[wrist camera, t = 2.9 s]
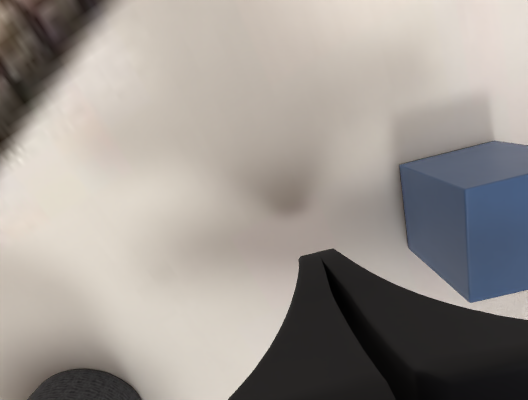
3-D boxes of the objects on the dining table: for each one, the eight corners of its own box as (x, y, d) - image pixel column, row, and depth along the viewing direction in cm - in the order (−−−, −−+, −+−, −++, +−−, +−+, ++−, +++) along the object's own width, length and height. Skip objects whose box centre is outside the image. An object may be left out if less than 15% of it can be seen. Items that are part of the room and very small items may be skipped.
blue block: (494, 140, 14) (606, 154, 9) (495, 227, 15) (593, 275, 11) (398, 164, 14) (464, 189, 10) (408, 248, 15) (469, 304, 11)
